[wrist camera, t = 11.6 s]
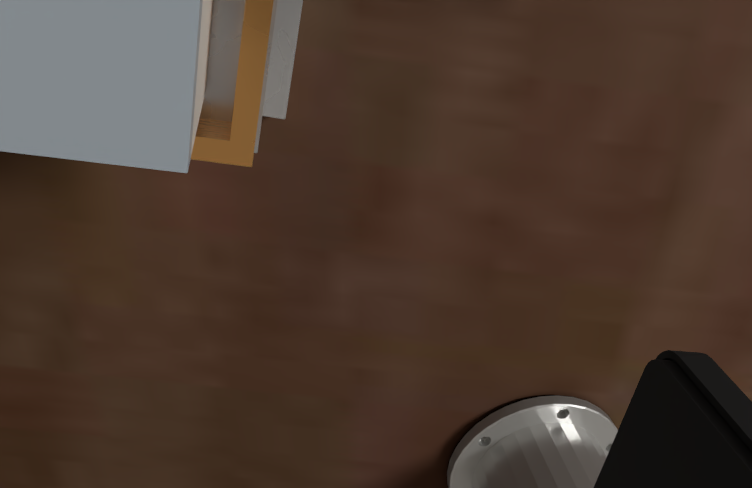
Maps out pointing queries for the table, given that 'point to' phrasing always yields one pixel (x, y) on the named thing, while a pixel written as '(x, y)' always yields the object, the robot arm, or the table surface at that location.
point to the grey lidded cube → (104, 79)
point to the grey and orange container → (245, 76)
